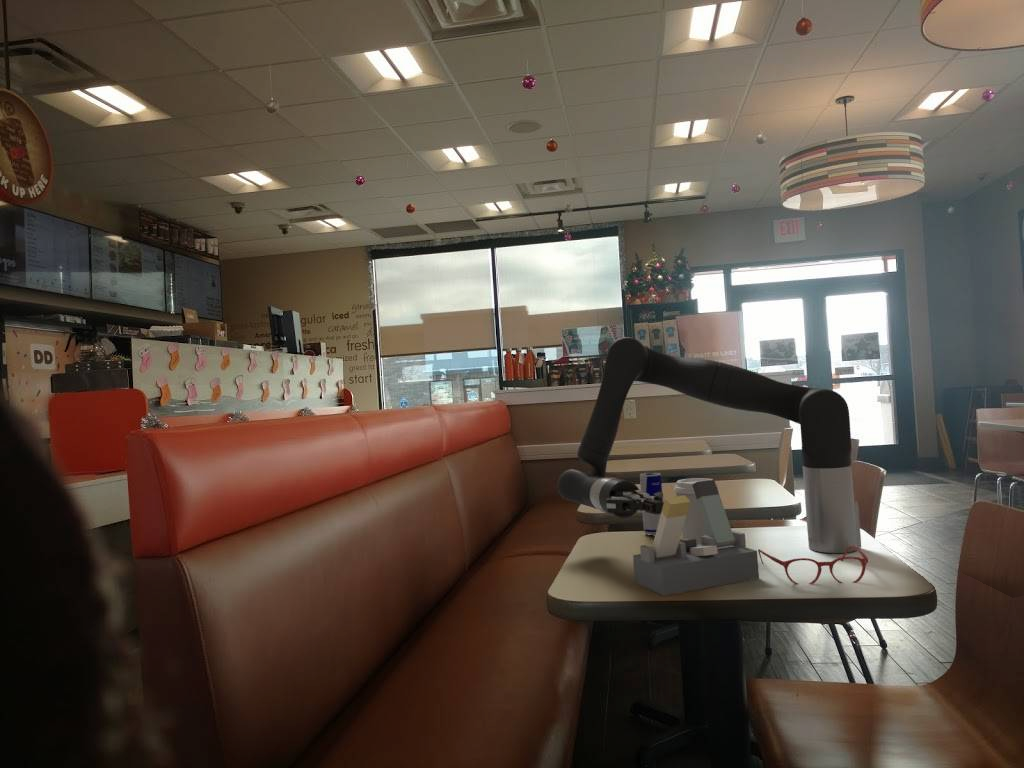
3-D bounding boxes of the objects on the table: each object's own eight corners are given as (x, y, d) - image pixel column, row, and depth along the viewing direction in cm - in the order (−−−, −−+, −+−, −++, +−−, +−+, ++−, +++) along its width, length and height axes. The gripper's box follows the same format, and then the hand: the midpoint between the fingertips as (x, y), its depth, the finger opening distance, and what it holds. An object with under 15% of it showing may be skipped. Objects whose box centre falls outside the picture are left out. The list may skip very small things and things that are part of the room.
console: (726, 565, 132) (723, 527, 132) (760, 577, 122) (757, 536, 123) (633, 582, 125) (630, 542, 125) (662, 596, 116) (659, 552, 116)
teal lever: (732, 545, 127) (711, 482, 133) (738, 543, 126) (715, 479, 131) (711, 549, 126) (690, 485, 131) (716, 547, 124) (694, 482, 129)
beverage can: (661, 537, 161) (656, 474, 161) (641, 536, 163) (636, 474, 164) (667, 532, 165) (663, 471, 165) (647, 531, 168) (643, 471, 168)
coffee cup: (721, 544, 150) (717, 477, 150) (724, 554, 141) (719, 483, 141) (678, 544, 152) (673, 478, 152) (677, 555, 143) (672, 484, 143)
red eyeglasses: (775, 588, 117) (773, 560, 117) (755, 564, 133) (753, 539, 133) (881, 585, 114) (879, 556, 115) (848, 561, 130) (846, 536, 130)
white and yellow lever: (671, 550, 124) (686, 495, 118) (676, 557, 122) (692, 501, 116) (648, 554, 122) (663, 498, 116) (653, 560, 121) (668, 504, 115)
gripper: (584, 481, 136) (626, 491, 120) (641, 475, 141) (689, 483, 124) (586, 518, 136) (629, 533, 120) (643, 510, 140) (692, 524, 124)
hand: (659, 508), depth 122 cm, fingers closed
